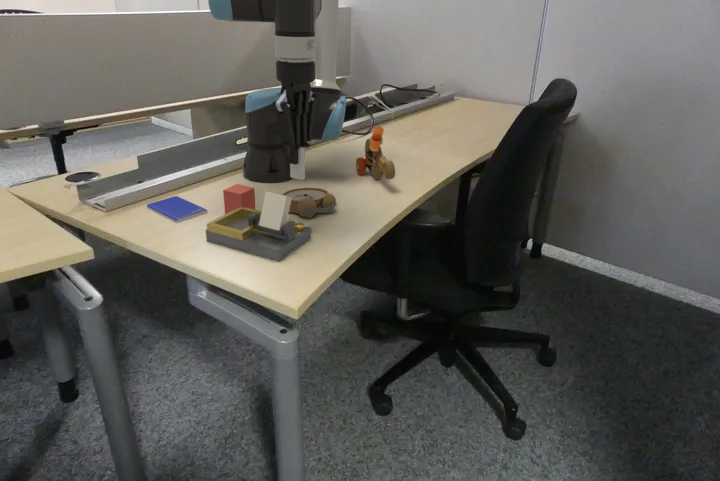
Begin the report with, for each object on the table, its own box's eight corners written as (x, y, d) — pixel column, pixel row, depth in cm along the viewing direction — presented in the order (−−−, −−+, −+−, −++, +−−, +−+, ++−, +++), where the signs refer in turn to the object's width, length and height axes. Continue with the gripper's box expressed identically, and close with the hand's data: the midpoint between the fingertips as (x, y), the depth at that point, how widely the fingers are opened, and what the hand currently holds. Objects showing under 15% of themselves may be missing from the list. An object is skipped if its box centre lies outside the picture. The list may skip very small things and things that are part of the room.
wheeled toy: (380, 168, 155) (382, 122, 149) (405, 192, 137) (409, 141, 131) (354, 170, 153) (355, 123, 147) (376, 195, 135) (379, 143, 129)
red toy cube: (238, 207, 125) (237, 183, 122) (255, 211, 123) (254, 187, 120) (225, 214, 121) (223, 190, 118) (242, 218, 119) (240, 194, 116)
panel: (243, 220, 117) (241, 195, 115) (311, 238, 110) (310, 212, 108) (206, 240, 108) (203, 213, 105) (278, 261, 101) (277, 233, 98)
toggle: (261, 230, 107) (269, 192, 107) (285, 236, 105) (294, 197, 104) (255, 229, 105) (264, 190, 105) (280, 236, 103) (288, 196, 102)
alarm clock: (312, 184, 133) (346, 192, 121) (314, 203, 134) (347, 212, 122) (273, 193, 126) (304, 201, 115) (275, 212, 128) (306, 223, 116)
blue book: (207, 208, 120) (177, 195, 128) (176, 218, 115) (146, 204, 122) (208, 215, 121) (178, 201, 128) (177, 225, 115) (147, 210, 123)
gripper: (293, 64, 92) (295, 189, 102) (329, 58, 103) (328, 172, 113) (258, 60, 95) (264, 183, 105) (297, 55, 106) (299, 167, 116)
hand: (297, 177), depth 109 cm, fingers closed
